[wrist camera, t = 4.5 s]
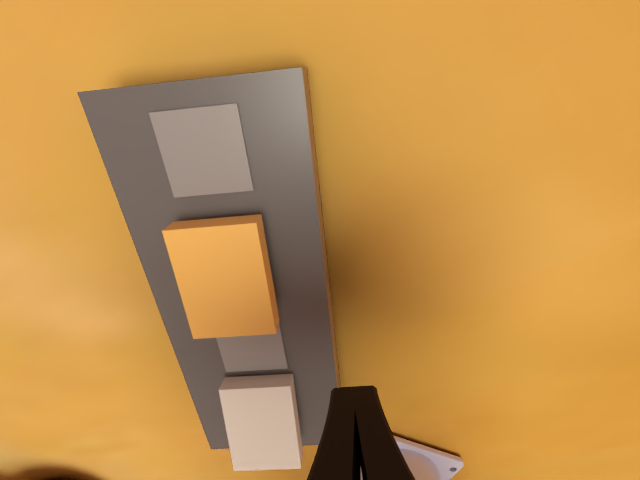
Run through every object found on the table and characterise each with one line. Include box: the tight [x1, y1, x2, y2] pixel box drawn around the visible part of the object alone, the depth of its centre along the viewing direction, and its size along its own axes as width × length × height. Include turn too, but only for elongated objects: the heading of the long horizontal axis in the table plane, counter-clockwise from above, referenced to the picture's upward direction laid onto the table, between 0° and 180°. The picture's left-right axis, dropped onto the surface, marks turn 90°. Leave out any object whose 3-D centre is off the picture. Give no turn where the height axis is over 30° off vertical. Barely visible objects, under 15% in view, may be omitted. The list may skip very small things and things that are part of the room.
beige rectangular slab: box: [219, 374, 303, 471], centre depth 18 cm, size 5×4×1 cm
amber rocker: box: [162, 214, 279, 339], centre depth 14 cm, size 5×4×1 cm
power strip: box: [77, 67, 341, 449], centre depth 18 cm, size 20×8×3 cm, turn 6°
